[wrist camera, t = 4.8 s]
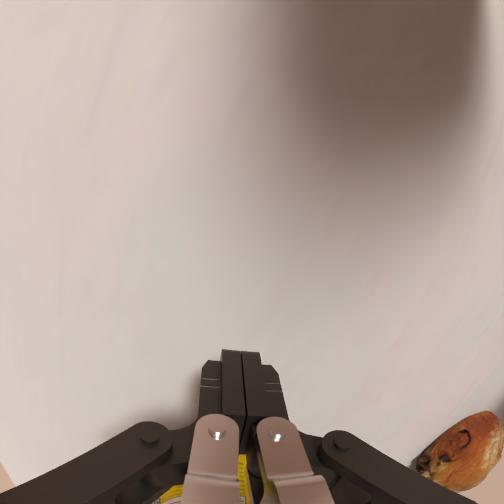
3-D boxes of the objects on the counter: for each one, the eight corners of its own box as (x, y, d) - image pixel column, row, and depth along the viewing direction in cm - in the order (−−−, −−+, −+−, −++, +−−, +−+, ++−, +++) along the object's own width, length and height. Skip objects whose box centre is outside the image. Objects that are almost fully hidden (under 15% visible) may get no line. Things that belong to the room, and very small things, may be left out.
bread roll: (426, 449, 27) (464, 485, 20) (388, 482, 21) (434, 529, 14) (479, 389, 24) (522, 427, 18) (458, 413, 18) (514, 464, 12)
